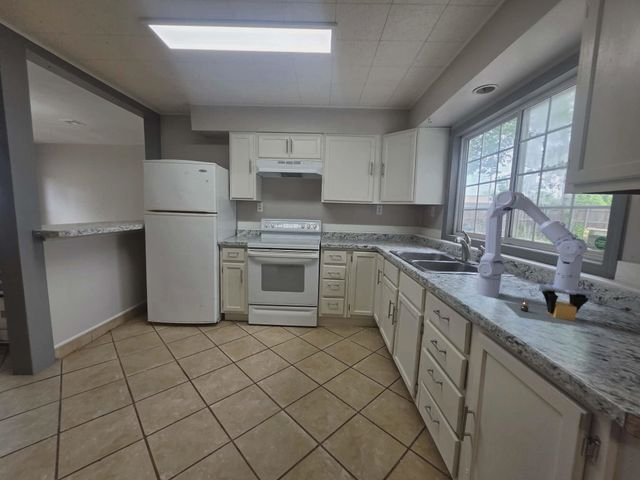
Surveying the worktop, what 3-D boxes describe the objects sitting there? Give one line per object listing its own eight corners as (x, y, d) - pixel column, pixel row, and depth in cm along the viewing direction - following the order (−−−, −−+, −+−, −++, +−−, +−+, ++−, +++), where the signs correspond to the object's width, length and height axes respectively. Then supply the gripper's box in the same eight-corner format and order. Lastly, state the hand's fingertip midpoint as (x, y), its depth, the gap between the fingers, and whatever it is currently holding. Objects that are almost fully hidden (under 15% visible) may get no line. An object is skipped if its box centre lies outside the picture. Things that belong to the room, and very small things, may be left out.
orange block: (547, 312, 85) (549, 299, 85) (565, 314, 84) (567, 302, 83) (555, 317, 81) (557, 304, 80) (574, 320, 79) (576, 307, 79)
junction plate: (502, 304, 94) (502, 301, 94) (561, 313, 88) (562, 310, 88) (519, 320, 80) (519, 317, 80) (590, 332, 74) (591, 328, 74)
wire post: (519, 309, 87) (520, 301, 87) (526, 310, 86) (527, 302, 86) (522, 311, 85) (523, 303, 85) (529, 312, 84) (530, 304, 84)
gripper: (546, 274, 79) (540, 314, 81) (605, 281, 74) (597, 323, 76) (535, 270, 86) (530, 307, 87) (589, 275, 81) (582, 314, 83)
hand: (560, 314), depth 82 cm, fingers closed on orange block, 5 cm apart
